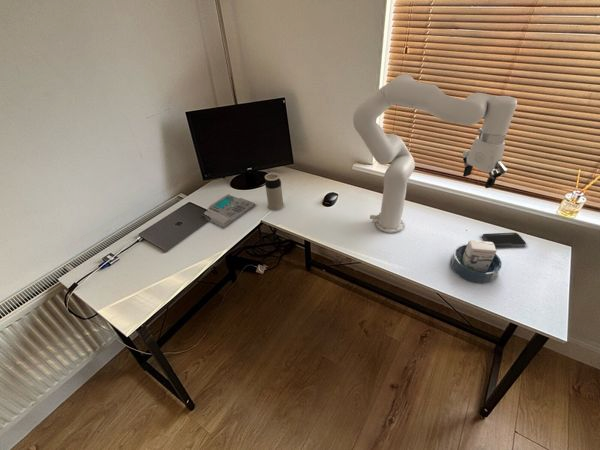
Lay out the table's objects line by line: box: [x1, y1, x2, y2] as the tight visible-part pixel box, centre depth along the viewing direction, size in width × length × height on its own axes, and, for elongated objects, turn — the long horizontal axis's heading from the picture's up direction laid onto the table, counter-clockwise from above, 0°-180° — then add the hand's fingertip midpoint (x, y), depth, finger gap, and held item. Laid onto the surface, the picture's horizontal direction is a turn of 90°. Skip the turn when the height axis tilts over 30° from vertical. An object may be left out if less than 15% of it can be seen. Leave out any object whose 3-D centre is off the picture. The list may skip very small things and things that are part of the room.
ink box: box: [461, 239, 498, 272], centre depth 115 cm, size 9×5×12 cm, turn 78°
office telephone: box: [203, 193, 256, 229], centre depth 159 cm, size 23×3×20 cm
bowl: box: [450, 243, 502, 284], centre depth 118 cm, size 16×16×6 cm
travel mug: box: [264, 172, 284, 211], centre depth 155 cm, size 8×8×18 cm
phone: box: [481, 232, 527, 249], centre depth 130 cm, size 8×1×15 cm
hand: (477, 181), depth 112 cm, fingers open, 9 cm apart
